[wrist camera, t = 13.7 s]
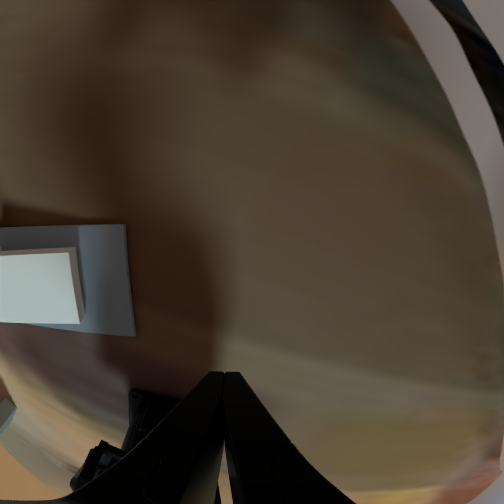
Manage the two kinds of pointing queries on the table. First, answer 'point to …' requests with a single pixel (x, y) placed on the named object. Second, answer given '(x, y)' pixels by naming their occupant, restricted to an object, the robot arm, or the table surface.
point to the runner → (88, 271)
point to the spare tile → (40, 286)
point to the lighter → (6, 413)
